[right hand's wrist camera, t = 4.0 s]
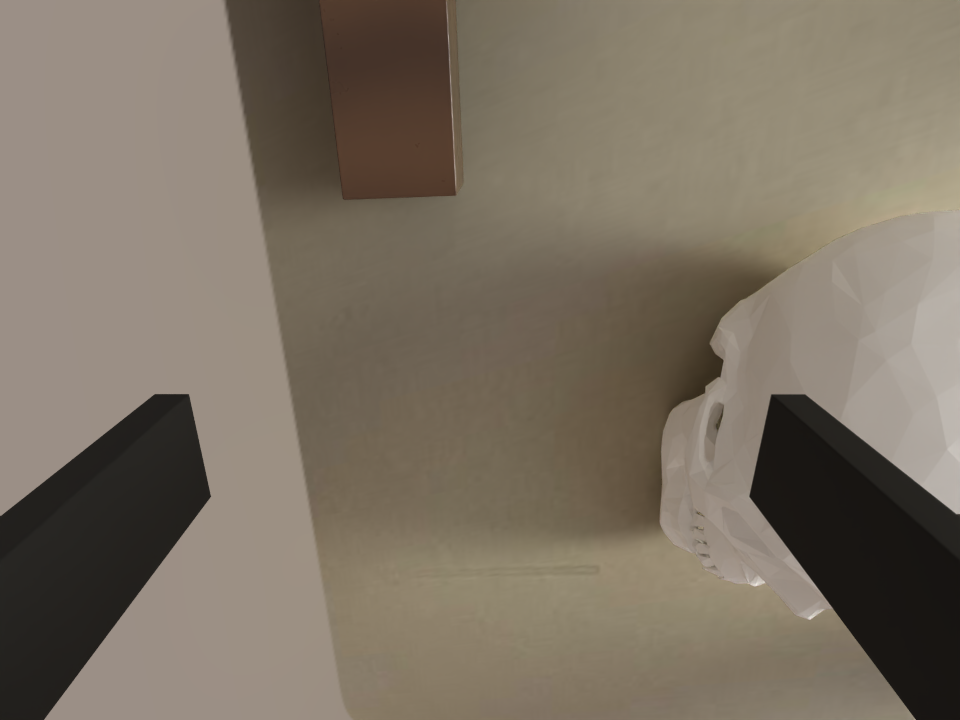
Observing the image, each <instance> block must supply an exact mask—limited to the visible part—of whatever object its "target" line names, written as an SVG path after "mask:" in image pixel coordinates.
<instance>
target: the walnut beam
mask: <svg viewBox="0 0 960 720" xmlns="http://www.w3.org/2000/svg"><path fill="white" fill-rule="evenodd" d="M319 5H320V13H321V21H322V29H323V38H324V46H325V54H326V62H327V71H328V79H329V87H330V96H331V104H332V112H333V120H334V129H335V137H336V145H337V153H338V162H339V170H340V178H341V186H342V195H343V199H344V200H348V199H376V198H403V197H431V196H456V195H457V193H458V192H459V190H460V188H461V186H462V185H463V183H464V180H463V157H462V135H461V113H460V90H459V68H458V45H457V23H456V0H319Z"/></svg>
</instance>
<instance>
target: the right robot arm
mask: <svg viewBox="0 0 960 720" xmlns="http://www.w3.org/2000/svg"><path fill="white" fill-rule="evenodd" d="M210 497H211V495H210V490H209V486H208V481H207V476H206V472H205V467H204V463H203V458H202V453H201V449H200V444H199V439H198V435H197V430H196V425H195V421H194V416H193V411H192V407H191V402H190V397H189V394H155V395H153V396H152V397H151V398H150V399H148V400H147V401H146V402H145V403H143V404H142V405H141V406H139V407H138V408H137V409H136V410H134V411H133V412H132V413H131V414H129V415H128V416H127V417H126V418H124V419H123V420H122V421H120V422H119V423H118V424H117V425H115V426H114V427H113V428H112V429H110V430H109V431H108V432H107V433H105V434H104V435H103V436H102V437H100V438H99V439H98V440H96V441H95V442H94V443H93V444H91V445H90V446H89V447H88V448H86V449H85V450H84V451H83V452H81V453H80V454H79V455H78V456H76V457H75V458H74V459H72V460H71V461H70V462H69V463H67V464H66V465H65V466H64V467H62V468H61V469H60V470H59V471H57V472H56V473H55V474H53V475H52V476H51V477H50V478H48V479H47V480H46V481H45V482H43V483H42V484H41V485H40V486H38V487H37V488H36V489H35V490H33V491H32V492H31V493H29V494H28V495H27V496H26V497H24V498H23V499H22V500H21V501H19V502H18V503H17V504H16V505H14V506H13V507H12V508H11V509H9V510H8V511H7V512H5V513H4V514H3V515H2V516H0V720H44V719H45V718H46V716H47V715H48V713H49V712H50V711H51V710H52V708H53V707H54V706H55V704H56V703H57V701H58V700H59V699H60V697H61V696H62V695H63V693H64V692H65V691H66V690H67V688H68V687H69V685H70V684H71V683H72V681H73V680H74V679H75V677H76V676H77V675H78V673H79V672H80V671H81V669H82V668H83V667H84V665H85V664H86V663H87V661H88V660H89V659H90V657H91V656H92V655H93V653H94V652H95V651H96V649H97V648H98V647H99V645H100V644H101V643H102V641H103V640H104V639H105V637H106V636H107V635H108V633H109V632H110V631H111V629H112V628H113V627H114V625H115V624H116V623H117V621H118V620H119V619H120V617H121V616H122V615H123V613H124V612H125V611H126V609H127V608H128V607H129V605H130V604H131V603H132V601H133V600H134V599H135V597H136V596H137V595H138V593H139V592H140V591H141V589H142V588H143V587H144V585H145V584H146V583H147V581H148V580H149V579H150V577H151V576H152V575H153V573H154V572H155V571H156V569H157V568H158V567H159V565H160V564H161V563H162V561H163V560H164V559H165V557H166V556H167V555H168V553H169V552H170V551H171V549H172V548H173V547H174V545H175V544H176V543H177V541H178V540H179V539H180V537H181V536H182V535H183V533H184V532H185V530H186V529H187V528H188V527H189V525H190V524H191V523H192V521H193V520H194V519H195V517H196V516H197V515H198V513H199V512H200V510H201V509H202V508H203V506H204V505H205V504H206V502H207V501H208V500H209V498H210ZM749 497H750V498H751V500H752V501H753V502H754V504H755V505H756V506H757V508H758V509H759V510H760V512H761V513H762V515H763V516H764V517H765V519H766V520H767V521H768V523H769V524H770V525H771V527H772V528H773V529H774V531H775V532H776V533H777V535H778V536H779V537H780V539H781V540H782V541H783V543H784V544H785V545H786V547H787V548H788V549H789V551H790V552H791V553H792V555H793V556H794V557H795V559H796V560H797V561H798V563H799V564H800V565H801V567H802V568H803V569H804V571H805V572H806V573H807V575H808V576H809V577H810V579H811V580H812V581H813V583H814V584H815V585H816V587H817V588H818V589H819V591H820V592H821V593H822V595H823V596H824V597H825V599H826V600H827V601H828V603H829V604H830V605H831V607H832V608H833V609H834V611H835V612H836V613H837V615H838V616H839V617H840V619H841V620H842V621H843V623H844V624H845V625H846V627H847V628H848V629H849V631H850V632H851V633H852V635H853V636H854V637H855V639H856V640H857V641H858V643H859V644H860V645H861V647H862V648H863V649H864V651H865V652H866V653H867V655H868V656H869V657H870V659H871V660H872V661H873V663H874V664H875V665H876V667H877V668H878V669H879V671H880V672H881V673H882V675H883V676H884V677H885V679H886V680H887V682H888V683H889V684H890V686H891V687H892V688H893V690H894V691H895V692H896V694H897V695H898V696H899V698H900V699H901V700H902V702H903V703H904V704H905V706H906V707H907V708H908V710H909V711H910V712H911V714H912V715H913V716H914V718H915V719H916V720H960V514H956V513H955V512H953V511H952V510H951V509H950V508H948V507H947V506H946V505H944V504H943V503H942V502H941V501H939V500H938V499H937V498H936V497H934V496H933V495H932V494H931V493H929V492H928V491H927V490H925V489H924V488H923V487H922V486H920V485H919V484H918V483H917V482H915V481H914V480H913V479H912V478H910V477H909V476H908V475H907V474H905V473H904V472H903V471H901V470H900V469H899V468H898V467H896V466H895V465H894V464H893V463H891V462H890V461H889V460H888V459H886V458H885V457H884V456H883V455H881V454H880V453H879V452H877V451H876V450H875V449H874V448H872V447H871V446H870V445H869V444H867V443H866V442H865V441H864V440H862V439H861V438H860V437H858V436H857V435H856V434H855V433H853V432H852V431H851V430H850V429H848V428H847V427H846V426H845V425H843V424H842V423H841V422H840V421H838V420H837V419H836V418H834V417H833V416H832V415H831V414H829V413H828V412H827V411H826V410H824V409H823V408H822V407H821V406H819V405H818V404H817V403H816V402H814V401H813V400H812V399H810V398H809V397H808V396H807V395H805V394H771V397H770V402H769V407H768V411H767V416H766V421H765V425H764V430H763V435H762V439H761V444H760V448H759V453H758V458H757V462H756V467H755V472H754V476H753V481H752V486H751V490H750V495H749Z"/></svg>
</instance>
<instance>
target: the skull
mask: <svg viewBox="0 0 960 720" xmlns="http://www.w3.org/2000/svg"><path fill="white" fill-rule="evenodd" d="M710 345H711V347H712V349H713V351H714V352H715V354H716V355H718V356H719V357H720V358H722V359H723V360H724V362H723V367H722V372H721V377H718V378H716V379H715V380H714V381H712V382H711V383H709V384H708V385H707V386H705V393H704V394H702V395H700V396H698V397H696V398H694V399H692V400H687V401H683V402H681V403H680V404H679V405H678V406H676V407H675V408H674V409H673V410H672V411H671V412H670V414H669V416H668V419H667V422H666V425H665V427H664V430H663V436H662V446H661V461H662V494H661V506H660V525H661V527H662V529H663V532H664V533H665V535H666V536H667V537H668V538H669V539H670V540H671V542H672V543H673V544H674V545H676V546H678V547H680V548H682V549H684V550H686V551H688V552H691V553H695V554H696V556H697V557H698V559H699V560H700V562H701V563H702V564H703V565H704V566H705V567H703V569H704V570H706V571H709V572H711V573H713V574H715V575H717V576H719V577H718V578H719V579H722V580H728V581H730V582H733V583H749V584H750V585H752V586H755V587H756V586H758V585H761V584H764V583H766V584H767V585H768V586H769V587H770V588H771V589H772V590H773V591H774V592H775V593H776V594H777V595H778V596H779V597H780V598H781V599H782V600H783V602H784V603H785V604H786V605H787V606H788V607H789V608H790V610H791V611H792V612H793V613H794V614H795V615H797V616H800V617H803V618H806V619H809V620H810V619H812V618H813V617H815V616H816V615H817V614H819V613H820V612H822V611H823V610H825V609H833V608H832V607H831V605H830V604H829V603H828V601H827V600H826V599H825V597H824V596H823V595H822V593H821V592H820V591H819V589H818V588H817V587H816V585H815V584H814V583H813V581H812V580H811V579H810V577H809V576H808V575H807V573H806V572H805V571H804V569H803V568H802V567H801V565H800V564H799V563H798V561H797V560H796V559H795V557H794V556H793V555H792V553H791V552H790V551H789V549H788V548H787V547H786V545H785V544H784V543H783V541H782V540H781V539H780V537H779V536H778V535H777V533H776V532H775V531H774V529H773V528H772V527H771V525H770V524H769V523H768V521H767V520H766V519H765V517H764V516H763V515H762V513H761V512H760V510H759V509H758V508H757V506H756V505H755V504H754V502H753V501H752V500H751V498H750V497H749V495H750V490H751V486H752V481H753V476H754V472H755V467H756V462H757V458H758V453H759V448H760V444H761V439H762V435H763V430H764V425H765V421H766V416H767V411H768V407H769V402H770V397H771V394H805V395H807V396H808V397H809V398H810V399H812V400H813V401H814V402H816V403H817V404H818V405H819V406H821V407H822V408H823V409H824V410H826V411H827V412H828V413H829V414H831V415H832V416H833V417H834V418H836V419H837V420H838V421H840V422H841V423H842V424H843V425H845V426H846V427H847V428H848V429H850V430H851V431H852V432H853V433H855V434H856V435H857V436H858V437H860V438H861V439H862V440H864V441H865V442H866V443H867V444H869V445H870V446H871V447H872V448H874V449H875V450H876V451H877V452H879V453H880V454H881V455H883V456H884V457H885V458H886V459H888V460H889V461H890V462H891V463H893V464H894V465H895V466H896V467H898V468H899V469H900V470H901V471H903V472H904V473H905V474H907V475H908V476H909V477H910V478H912V479H913V480H914V481H915V482H917V483H918V484H919V485H920V486H922V487H923V488H924V489H925V490H927V491H928V492H929V493H931V494H932V495H933V496H934V497H936V498H937V499H938V500H939V501H941V502H942V503H943V504H944V505H946V506H947V507H948V508H950V509H951V510H952V511H953V512H955V513H956V514H960V210H949V211H935V212H925V213H916V214H910V215H904V216H900V217H896V218H893V219H890V220H886V221H883V222H880V223H876V224H873V225H870V226H866V227H863V228H860V229H858V230H856V231H853V232H851V233H849V234H847V235H844V236H842V237H840V238H838V239H835V240H834V241H832V242H830V243H829V244H827V245H826V246H824V247H822V248H821V249H819V250H818V251H816V252H814V253H813V254H811V255H810V256H808V257H806V258H805V259H803V260H802V261H800V262H798V263H797V264H795V265H794V266H792V267H790V268H789V269H787V270H786V271H784V272H783V273H782V274H780V275H779V276H777V277H776V278H775V279H773V280H772V281H770V282H769V283H767V284H766V285H765V286H763V287H762V288H761V289H759V290H758V291H757V292H755V293H754V294H752V295H750V296H749V297H747V298H746V299H743V300H740V301H739V302H738V303H737V304H736V305H735V306H734V307H733V308H732V309H731V310H729V311H728V312H727V313H726V314H725V315H724V316H723V317H722V318H721V320H720V322H719V324H718V326H717V329H716V331H715V333H714V335H713V337H712V339H711V341H710ZM723 405H724V408H723ZM722 410H723V417H722V420H721V424H720V427H719V430H718V431H717V428H716V424H717V422H718V420H719V418H720V416H721V414H722ZM697 512H700V513H701V514H703V515H704V516H702V515H699V514H697ZM698 526H699V527H704V530H701V529H698ZM710 566H711V567H710ZM833 610H834V609H833Z"/></svg>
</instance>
